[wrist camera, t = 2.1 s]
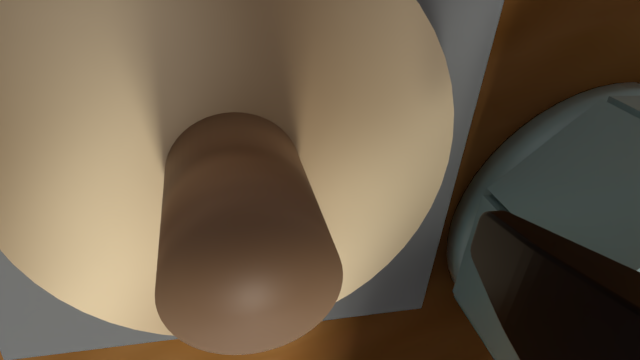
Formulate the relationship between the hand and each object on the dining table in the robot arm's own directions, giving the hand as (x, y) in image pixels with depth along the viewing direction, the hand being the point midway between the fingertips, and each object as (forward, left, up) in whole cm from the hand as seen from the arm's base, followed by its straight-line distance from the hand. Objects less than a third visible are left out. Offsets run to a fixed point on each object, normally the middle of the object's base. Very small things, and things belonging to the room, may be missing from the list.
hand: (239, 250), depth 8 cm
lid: (0, 0, -4) cm, 4 cm away
